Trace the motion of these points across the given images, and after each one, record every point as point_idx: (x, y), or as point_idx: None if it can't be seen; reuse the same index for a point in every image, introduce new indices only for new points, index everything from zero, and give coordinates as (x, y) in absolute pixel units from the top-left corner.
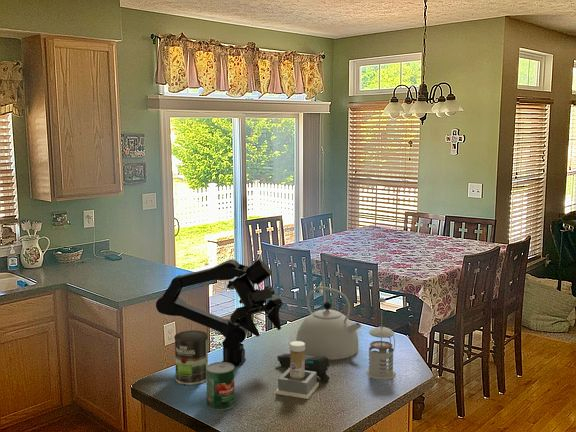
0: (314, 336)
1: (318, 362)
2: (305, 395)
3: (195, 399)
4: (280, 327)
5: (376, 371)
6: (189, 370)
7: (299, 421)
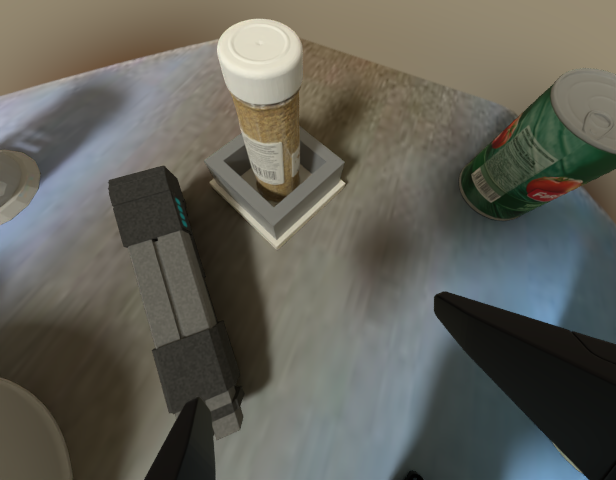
0: None
1: (167, 172)
2: None
3: (560, 239)
4: (187, 408)
5: (5, 158)
6: None
7: (340, 69)
